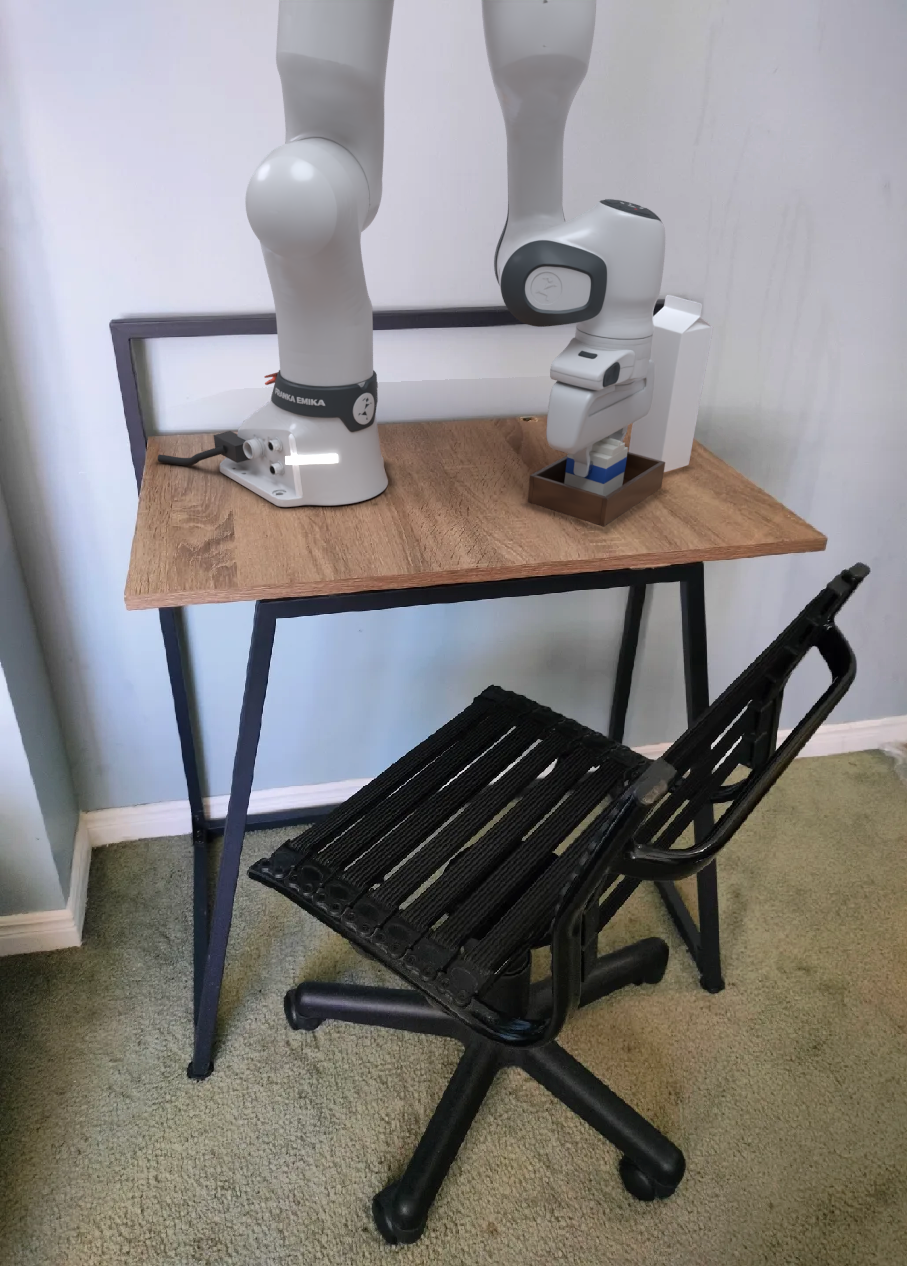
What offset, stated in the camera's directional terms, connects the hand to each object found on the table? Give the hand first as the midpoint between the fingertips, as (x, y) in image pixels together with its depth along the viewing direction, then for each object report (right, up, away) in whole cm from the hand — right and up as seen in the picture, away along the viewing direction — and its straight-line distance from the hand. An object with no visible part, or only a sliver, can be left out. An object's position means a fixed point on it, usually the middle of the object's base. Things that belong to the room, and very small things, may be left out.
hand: (595, 467), depth 114 cm
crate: (0, -4, +2) cm, 4 cm away
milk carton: (0, -3, +2) cm, 3 cm away
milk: (+10, +2, +12) cm, 16 cm away
